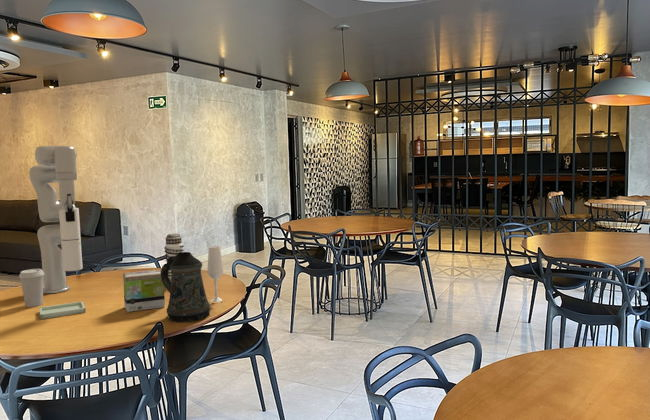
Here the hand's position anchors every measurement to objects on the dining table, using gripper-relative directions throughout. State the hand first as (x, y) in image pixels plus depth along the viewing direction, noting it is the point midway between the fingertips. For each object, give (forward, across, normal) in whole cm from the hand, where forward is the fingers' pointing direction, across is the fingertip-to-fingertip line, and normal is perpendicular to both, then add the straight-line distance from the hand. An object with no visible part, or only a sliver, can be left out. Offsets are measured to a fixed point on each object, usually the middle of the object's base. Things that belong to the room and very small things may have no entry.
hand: (69, 220), depth 203 cm
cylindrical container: (+20, 0, 0) cm, 20 cm away
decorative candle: (+38, -19, +47) cm, 63 cm away
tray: (+37, 0, -5) cm, 38 cm away
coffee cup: (+38, -19, -14) cm, 45 cm away
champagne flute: (+37, +23, +52) cm, 69 cm away
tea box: (+38, +13, +25) cm, 47 cm away
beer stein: (+37, +36, +35) cm, 63 cm away
